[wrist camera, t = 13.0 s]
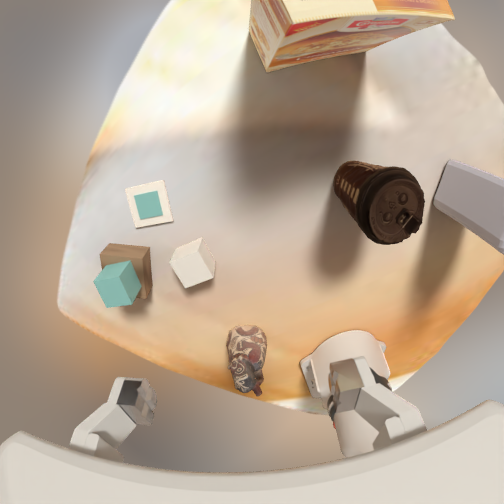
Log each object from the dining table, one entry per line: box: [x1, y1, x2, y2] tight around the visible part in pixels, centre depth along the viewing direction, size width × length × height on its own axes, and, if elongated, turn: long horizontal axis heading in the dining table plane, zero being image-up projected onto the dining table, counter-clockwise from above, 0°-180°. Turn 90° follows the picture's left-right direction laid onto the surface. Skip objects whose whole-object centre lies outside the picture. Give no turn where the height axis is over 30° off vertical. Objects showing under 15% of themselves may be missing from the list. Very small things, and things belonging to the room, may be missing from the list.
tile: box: [125, 180, 173, 228], centre depth 37 cm, size 6×6×1 cm
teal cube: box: [93, 260, 142, 308], centre depth 36 cm, size 4×4×4 cm
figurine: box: [227, 325, 267, 396], centre depth 43 cm, size 7×7×12 cm
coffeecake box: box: [249, 0, 455, 73], centre depth 18 cm, size 15×7×20 cm, turn 110°
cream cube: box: [169, 237, 216, 288], centre depth 39 cm, size 4×4×4 cm
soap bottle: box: [433, 160, 504, 254], centre depth 25 cm, size 9×9×25 cm
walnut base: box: [100, 243, 153, 299], centre depth 40 cm, size 7×7×4 cm
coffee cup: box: [334, 161, 425, 245], centre depth 30 cm, size 9×8×13 cm
